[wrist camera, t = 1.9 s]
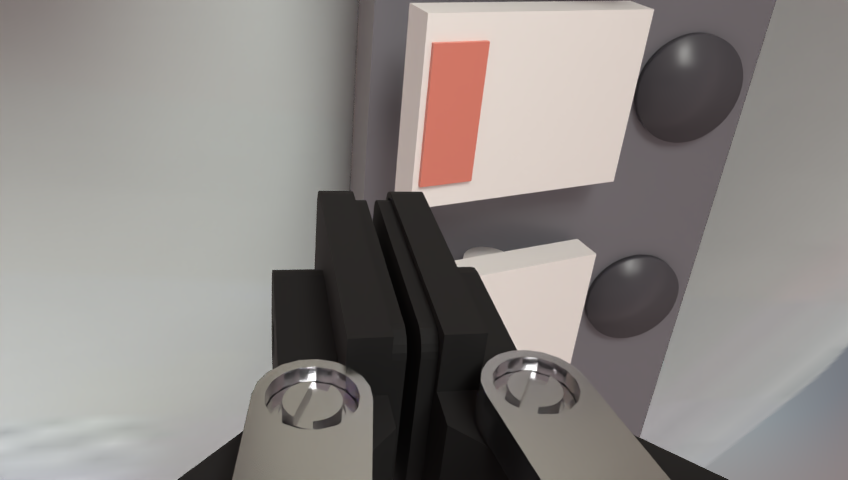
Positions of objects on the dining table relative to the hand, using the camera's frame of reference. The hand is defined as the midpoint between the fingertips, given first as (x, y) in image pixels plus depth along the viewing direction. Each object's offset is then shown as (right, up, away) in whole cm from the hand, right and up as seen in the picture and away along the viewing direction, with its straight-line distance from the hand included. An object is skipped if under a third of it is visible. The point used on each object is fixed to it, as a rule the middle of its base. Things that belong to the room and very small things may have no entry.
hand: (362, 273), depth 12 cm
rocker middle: (+4, +5, +12) cm, 14 cm away
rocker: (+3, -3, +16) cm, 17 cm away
